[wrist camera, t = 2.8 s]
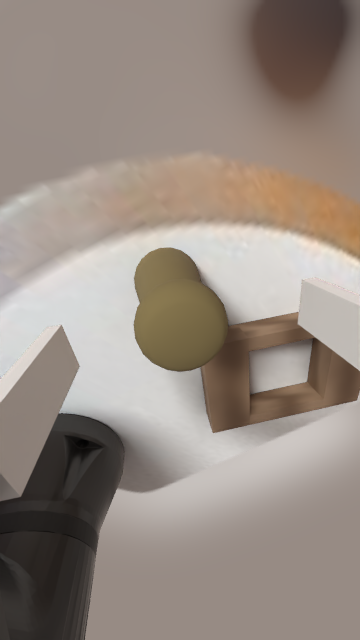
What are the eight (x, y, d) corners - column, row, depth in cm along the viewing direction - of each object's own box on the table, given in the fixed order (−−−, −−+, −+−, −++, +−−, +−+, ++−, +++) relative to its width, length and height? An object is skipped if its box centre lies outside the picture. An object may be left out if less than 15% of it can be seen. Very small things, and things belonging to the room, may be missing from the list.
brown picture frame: (206, 412, 29) (213, 433, 26) (195, 332, 24) (202, 347, 21) (338, 383, 30) (356, 400, 27) (355, 300, 25) (381, 311, 22)
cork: (203, 303, 22) (247, 374, 13) (143, 317, 22) (141, 400, 12) (193, 241, 20) (241, 268, 10) (125, 255, 19) (105, 298, 10)
